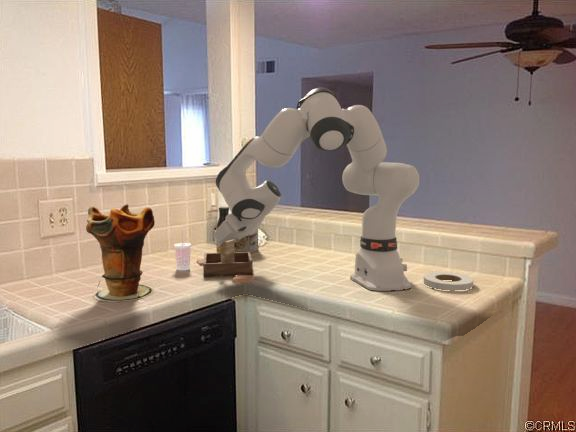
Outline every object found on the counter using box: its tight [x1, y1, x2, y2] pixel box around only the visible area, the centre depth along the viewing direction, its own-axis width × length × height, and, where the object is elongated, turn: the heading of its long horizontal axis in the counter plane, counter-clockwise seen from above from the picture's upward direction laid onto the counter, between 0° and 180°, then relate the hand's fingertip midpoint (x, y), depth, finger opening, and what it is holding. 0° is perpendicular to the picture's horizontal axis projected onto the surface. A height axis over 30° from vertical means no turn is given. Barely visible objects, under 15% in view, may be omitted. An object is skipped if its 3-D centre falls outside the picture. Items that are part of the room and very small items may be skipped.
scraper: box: [219, 240, 235, 263], centre depth 186 cm, size 9×6×10 cm
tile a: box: [196, 258, 204, 266], centre depth 197 cm, size 6×6×1 cm
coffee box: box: [234, 228, 259, 254], centre depth 218 cm, size 9×6×16 cm
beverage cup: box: [173, 230, 192, 271], centre depth 187 cm, size 6×6×14 cm
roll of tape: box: [423, 271, 474, 291], centre depth 167 cm, size 16×15×3 cm
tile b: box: [231, 275, 255, 284], centre depth 173 cm, size 6×6×1 cm
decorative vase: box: [85, 203, 155, 303], centre depth 157 cm, size 21×23×28 cm
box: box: [202, 251, 254, 278], centre depth 186 cm, size 17×17×4 cm
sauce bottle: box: [215, 206, 230, 253], centre depth 207 cm, size 6×6×20 cm
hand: (226, 243), depth 185 cm, fingers open, 8 cm apart
